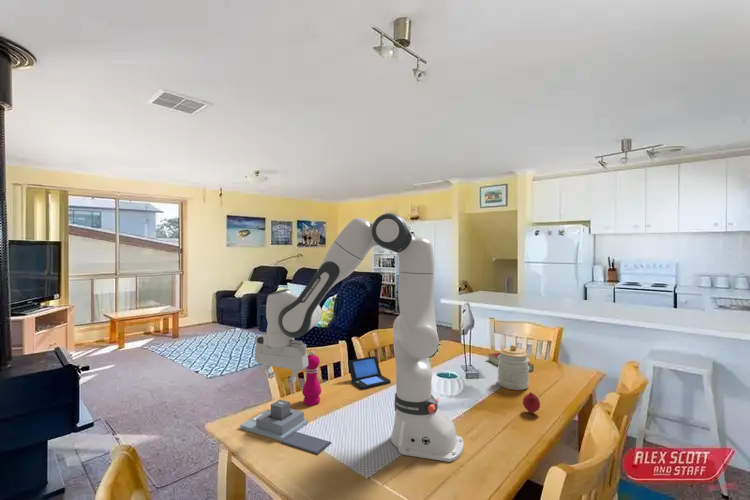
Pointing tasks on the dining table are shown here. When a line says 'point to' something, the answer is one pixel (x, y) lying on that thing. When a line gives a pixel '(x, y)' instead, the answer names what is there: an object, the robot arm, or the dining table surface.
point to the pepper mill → (312, 381)
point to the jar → (513, 368)
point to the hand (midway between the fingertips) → (281, 379)
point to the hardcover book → (494, 358)
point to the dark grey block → (280, 410)
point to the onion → (531, 402)
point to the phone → (306, 443)
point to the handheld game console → (366, 373)
